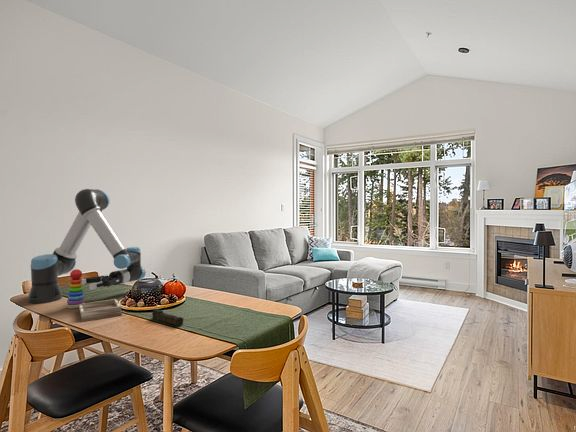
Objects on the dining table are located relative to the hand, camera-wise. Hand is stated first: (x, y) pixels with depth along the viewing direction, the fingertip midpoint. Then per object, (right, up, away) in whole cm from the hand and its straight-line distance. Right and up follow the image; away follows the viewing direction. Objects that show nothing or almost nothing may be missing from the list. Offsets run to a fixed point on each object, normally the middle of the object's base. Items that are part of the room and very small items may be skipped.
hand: (81, 285), depth 178 cm
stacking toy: (-2, -11, -1) cm, 11 cm away
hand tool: (+50, -12, -24) cm, 57 cm away
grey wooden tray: (+15, -11, -11) cm, 21 cm away
